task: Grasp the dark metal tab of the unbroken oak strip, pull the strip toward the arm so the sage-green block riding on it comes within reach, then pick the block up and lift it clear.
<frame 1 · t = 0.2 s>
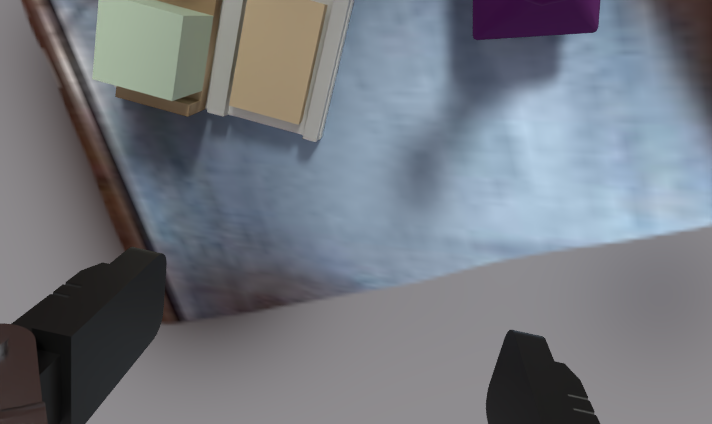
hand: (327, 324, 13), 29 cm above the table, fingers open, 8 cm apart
block: (172, 44, 37), point 2 cm above the table, touching strip
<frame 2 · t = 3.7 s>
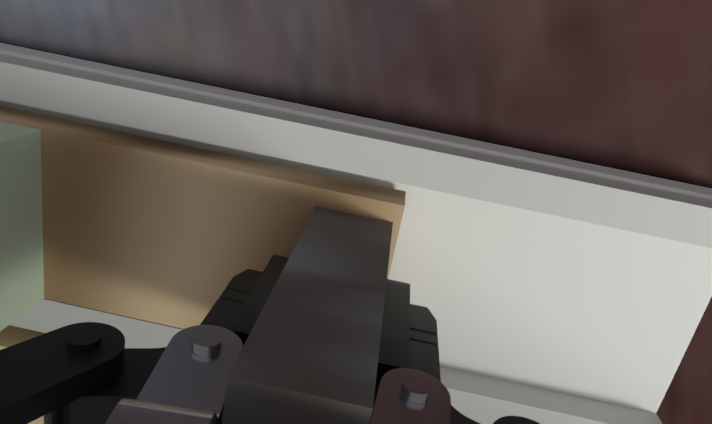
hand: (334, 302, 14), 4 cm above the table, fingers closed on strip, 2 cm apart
lane board: (263, 325, 18), on the table
strip: (23, 278, 12), point 5 cm above the table, slide at 0.0 cm, touching block, gripper
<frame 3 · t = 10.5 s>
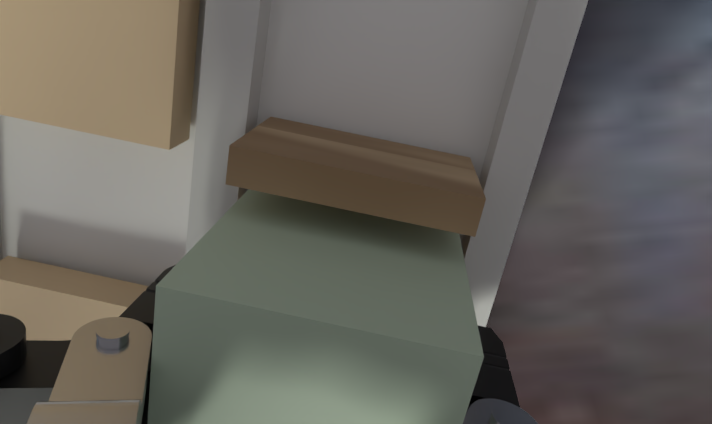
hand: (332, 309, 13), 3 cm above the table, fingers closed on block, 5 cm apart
lane board: (229, 249, 16), on the table
block: (335, 301, 14), point 3 cm above the table, touching gripper, strip
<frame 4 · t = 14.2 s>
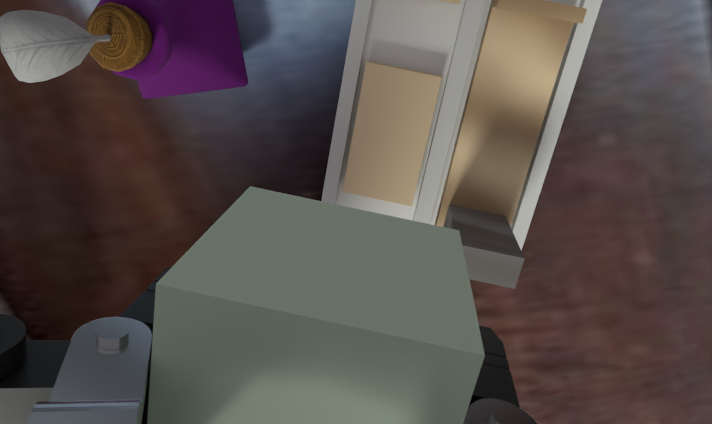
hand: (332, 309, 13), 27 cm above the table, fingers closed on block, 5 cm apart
lane board: (458, 61, 37), on the table
perfume bottle: (201, 32, 38), on the table
strip: (507, 138, 33), point 5 cm above the table, slide at 8.0 cm
block: (335, 300, 14), point 27 cm above the table, touching gripper
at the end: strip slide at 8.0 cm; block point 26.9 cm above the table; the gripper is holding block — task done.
